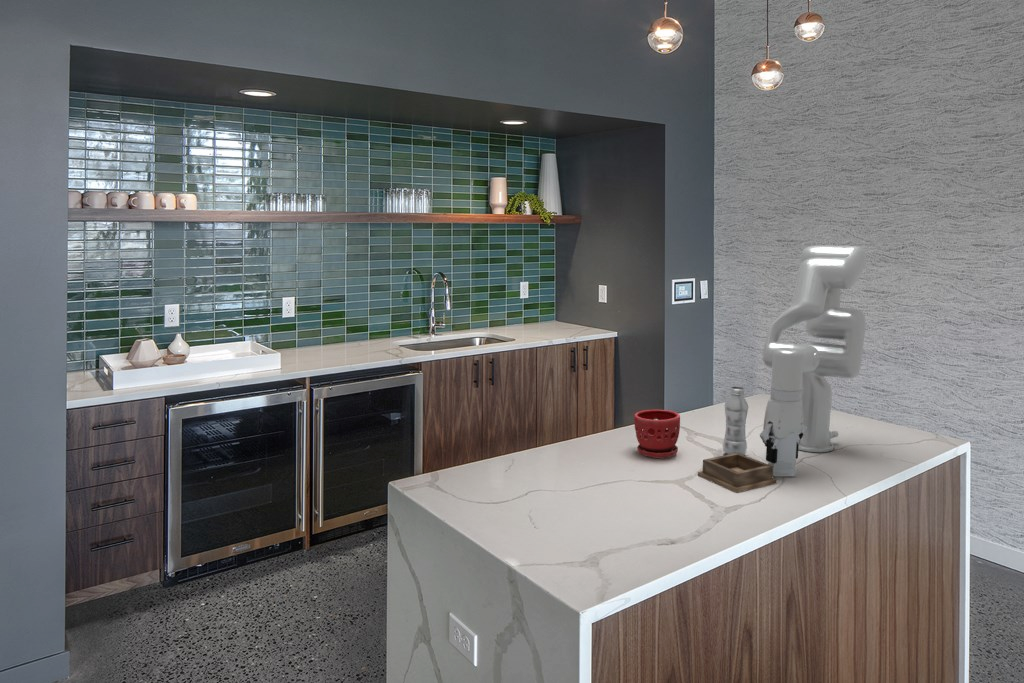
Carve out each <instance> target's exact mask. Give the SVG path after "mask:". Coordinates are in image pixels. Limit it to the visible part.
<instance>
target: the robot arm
mask: <svg viewBox="0 0 1024 683" xmlns="http://www.w3.org/2000/svg"><path fill="white" fill-rule="evenodd" d="M800 258H801V259H800V260H801V262H800V263H801V264H800V265H799V268H798V272H797V276H796V281H795V286H794V290H793V295H792V299H791V303H790V306H789V307H788V308H787V309H785V310H784V311H783V312H782V313H781V314H779V315H778V316H777V318H775V319H774V320H773V322H772V323H771V324H770V326H769V327H768V330H767V332H766V337H765V341H764V345H763V349H762V350H763V351H762V362H763V364H764V366H765V367H767V368H768V369H771V383H770V398H769V399H768V400H767V403H766V406H765V410H764V411H765V412H764V419H763V425H762V426H763V428H762V431H761V432H760V433H759V437H760V439H761V440H762V443H763V444H764V447H766V448H765V449H766V450H765V461H767V462H768V461H769V462H771V463H774V464H775V463H777V451H778V450H777V449H776V446H777V444H778V441H779V439H783V438H786V437H787V436H788V434H790V433H794V432H795V433H797V445H796V460H797V459H798V458H799V451H803V452H808V453H828V452H829V453H830V451H833V450H834V448H835V444H834V443H833V442H832V441H831V440H832V439H833V438H838V437H839V431H837V430H833V431H830V428H831V427H830V425H831V412H832V411H831V410H832V398H833V397H832V396H833V392H832V391H833V390H832V386H831V384H830V383H829V382H828V380H827V379H826V377H829V378H830V377H832V378H839V379H855V378H856V377H858V375H859V374H860V371H861V367H862V362H863V360H862V359H863V352H864V345H865V343H864V342H865V335H866V326H867V325H866V324H867V323H866V316H865V314H864V312H863V311H861V309H858V308H853V307H841V298H842V296H841V295H842V290H848V289H851V288H852V287H853V286H854V285H855V284H856V283H857V281H858V279H859V278H860V277H861V275H862V274H863V272H864V271H865V269H866V268H865V267H866V263H867V253H866V250H865V249H864V248H863V247H861V246H858V245H831V244H830V245H828V244H827V245H825V244H824V245H822V244H821V245H819V244H818V245H812V246H811V245H810V246H807V247H805V248H804V249H803V250H802V252H801V254H800ZM803 323H805V331H806V334H808V336H810V337H812V338H817V339H823V340H835V341H836V340H837V341H843V342H844V343H845V344H837V343H836V344H834V343H829V342H827V343H826V342H814V341H812V342H805V343H803V344H802V343H794V342H784V341H783V342H782V341H780V338H781V337H782V335H783V334H784V333H785V332H786V331H788V330H789V329H790V328H792V327H795V326H798V325H801V324H803ZM772 434H774V436H772ZM772 439H774V441H773V443H772V442H771V440H772Z"/></svg>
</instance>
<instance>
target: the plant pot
mask: <svg viewBox="0 0 1024 683" xmlns="http://www.w3.org/2000/svg"><path fill="white" fill-rule="evenodd" d="M633 416H634V417H633V419H634V429H635V437H636V439H637V442H638V445H637V451H638V453H640V454H641V455H642V456H645V457H647V456H648V457H647V458H655V459H661V458H662V459H665V458H666V459H667V458H670V457H673V456H674V455H676V454H677V453H678V451H679V447H678V446H677V445H676V444H677V442H678V440H679V436H680V430H681V429H680V428H681V415H680V413H678V412H675V411H673V410H669V409H667V410H666V409H645V410H639V411H637V412H636V413H635V414H634V415H633Z"/></svg>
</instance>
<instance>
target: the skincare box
mask: <svg viewBox="0 0 1024 683" xmlns="http://www.w3.org/2000/svg"><path fill="white" fill-rule="evenodd" d="M772 436H774V434H772ZM773 441H774V439H772V440H771V442H772V443H773ZM796 445H797V433H795V432H794V433H790V434H788V436H787V437H786V438H783V439H779V441H778V444H777V446H776V449H777V450H778V451H777V463H775V464H774V463H771V462H769V461H767V464H768V465H771V466H773V473H772V478H774V477H775V478H776V477H779V478H782V477H787V478H788V477H796V463H797V462H796V461H797V459H796Z"/></svg>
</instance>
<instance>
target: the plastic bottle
mask: <svg viewBox="0 0 1024 683" xmlns="http://www.w3.org/2000/svg"><path fill="white" fill-rule="evenodd" d="M729 394H730V395H729V397H728V398H727V399H726V401H725V402H724V415H725V432H724V438H723V441H722V443H723V444H722V450H723V452H724V454H725V455H729V454H734V453H740V454H742V455H745V454H746V453H747V449H748V445H747V444H748V443H747V438H746V428H747V426H746V424H747V418H748V412H749V404H748V401H747V400H746V398H745V397H744V396H745V387H743V386H730V391H729Z"/></svg>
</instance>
